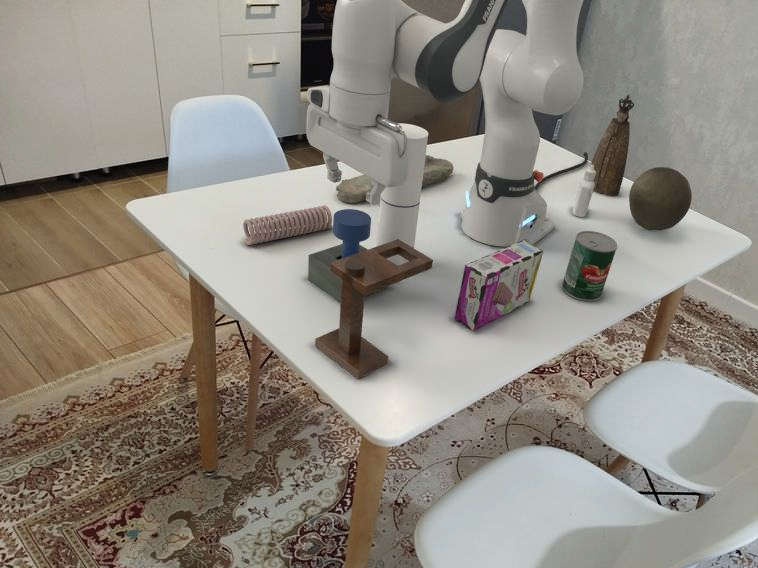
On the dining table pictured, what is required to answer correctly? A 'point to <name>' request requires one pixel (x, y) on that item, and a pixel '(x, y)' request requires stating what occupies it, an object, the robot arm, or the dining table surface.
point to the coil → (287, 224)
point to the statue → (613, 152)
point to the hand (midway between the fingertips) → (353, 191)
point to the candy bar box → (497, 284)
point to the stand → (357, 281)
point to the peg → (351, 229)
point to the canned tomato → (589, 265)
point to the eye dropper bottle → (584, 193)
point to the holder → (328, 270)
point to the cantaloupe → (659, 198)
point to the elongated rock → (360, 185)
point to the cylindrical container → (404, 196)
